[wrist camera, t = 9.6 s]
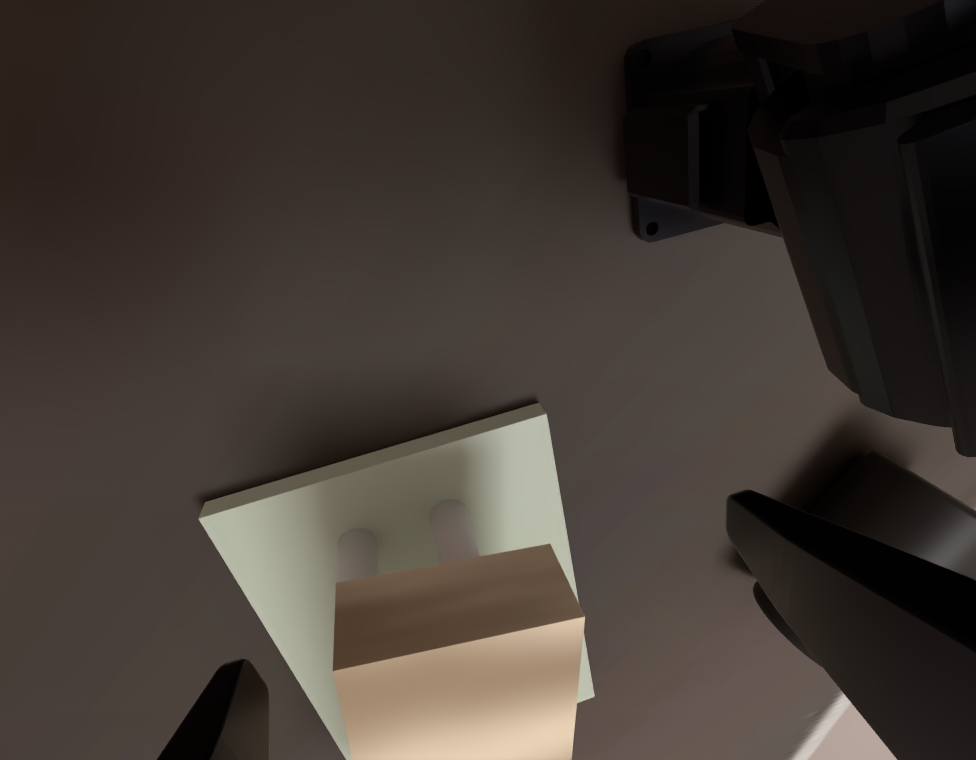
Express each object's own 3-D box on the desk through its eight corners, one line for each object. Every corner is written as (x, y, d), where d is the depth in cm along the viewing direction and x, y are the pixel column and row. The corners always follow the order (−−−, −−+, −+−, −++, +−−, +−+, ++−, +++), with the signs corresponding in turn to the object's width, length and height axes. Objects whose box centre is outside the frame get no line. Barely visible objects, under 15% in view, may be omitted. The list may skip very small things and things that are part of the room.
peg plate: (205, 502, 21) (154, 629, 15) (538, 402, 22) (596, 487, 17) (360, 764, 30) (362, 899, 25) (587, 680, 32) (634, 791, 26)
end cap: (839, 428, 27) (974, 511, 21) (909, 468, 30) (1046, 552, 24) (722, 567, 30) (813, 675, 24) (797, 592, 33) (895, 694, 27)
